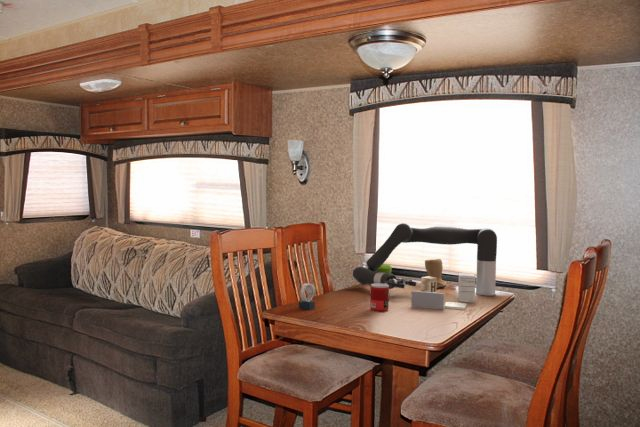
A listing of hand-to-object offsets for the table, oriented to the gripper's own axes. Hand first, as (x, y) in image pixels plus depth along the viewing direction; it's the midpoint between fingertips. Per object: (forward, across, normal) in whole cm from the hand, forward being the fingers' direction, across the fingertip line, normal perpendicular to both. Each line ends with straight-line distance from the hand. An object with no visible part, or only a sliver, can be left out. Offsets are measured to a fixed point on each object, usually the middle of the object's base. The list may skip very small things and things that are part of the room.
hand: (409, 285), depth 250 cm
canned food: (+7, -28, +7) cm, 30 cm away
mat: (+24, +4, +7) cm, 25 cm away
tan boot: (-14, +38, +7) cm, 42 cm away
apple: (-39, +21, +7) cm, 45 cm away
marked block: (+11, 0, +7) cm, 13 cm away
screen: (+17, -8, +7) cm, 20 cm away
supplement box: (+18, +19, +7) cm, 28 cm away
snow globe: (-14, -52, +7) cm, 54 cm away
